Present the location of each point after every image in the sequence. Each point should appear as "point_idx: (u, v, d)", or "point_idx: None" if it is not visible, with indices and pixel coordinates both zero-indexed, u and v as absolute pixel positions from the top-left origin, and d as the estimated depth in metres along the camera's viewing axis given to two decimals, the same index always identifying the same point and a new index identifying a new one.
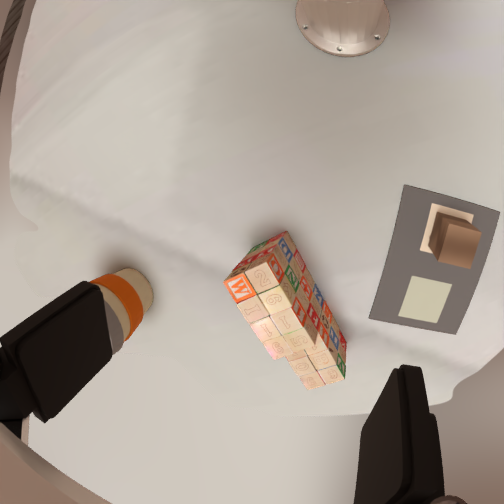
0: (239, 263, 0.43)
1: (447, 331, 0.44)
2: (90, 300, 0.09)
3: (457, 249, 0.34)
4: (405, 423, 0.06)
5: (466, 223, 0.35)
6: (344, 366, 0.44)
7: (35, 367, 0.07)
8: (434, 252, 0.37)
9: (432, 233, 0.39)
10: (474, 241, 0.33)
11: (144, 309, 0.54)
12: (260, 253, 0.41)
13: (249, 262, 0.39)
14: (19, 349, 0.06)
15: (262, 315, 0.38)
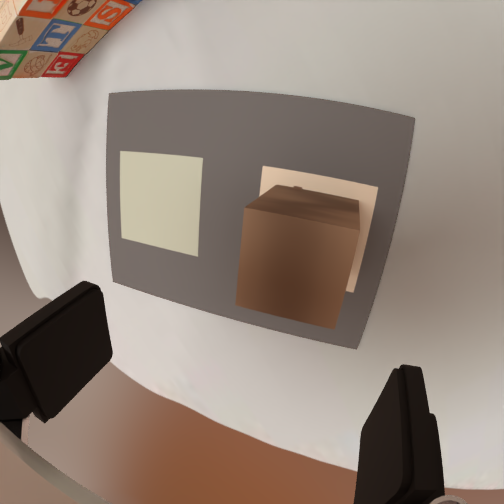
0: None
1: (113, 263, 0.26)
2: (90, 300, 0.09)
3: (284, 262, 0.14)
4: (405, 423, 0.06)
5: None
6: (7, 75, 0.15)
7: (35, 367, 0.07)
8: (265, 197, 0.16)
9: (307, 192, 0.18)
10: (310, 311, 0.15)
11: None
12: None
13: None
14: (19, 349, 0.06)
15: None
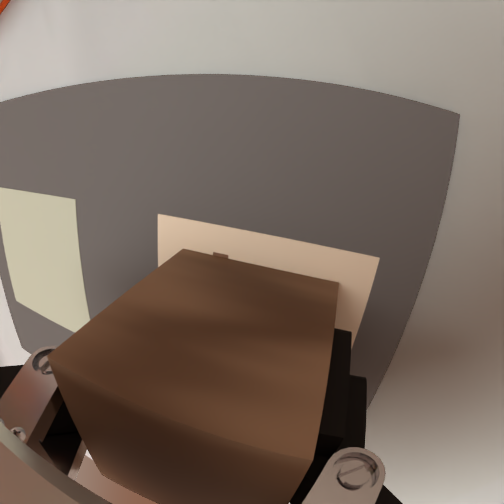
0: None
1: (17, 328, 0.17)
2: None
3: (148, 462, 0.05)
4: None
5: None
6: None
7: None
8: (123, 305, 0.07)
9: (234, 269, 0.09)
10: None
11: None
12: None
13: None
14: None
15: None
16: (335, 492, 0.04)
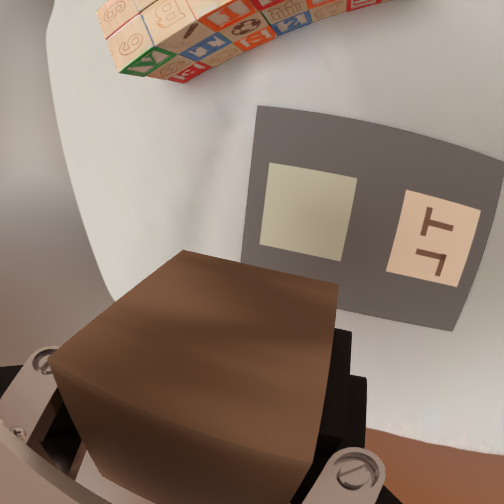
0: None
1: None
2: None
3: (148, 464, 0.05)
4: None
5: None
6: (144, 73, 0.18)
7: None
8: (123, 307, 0.07)
9: (234, 271, 0.09)
10: None
11: None
12: None
13: None
14: None
15: None
16: (335, 492, 0.04)
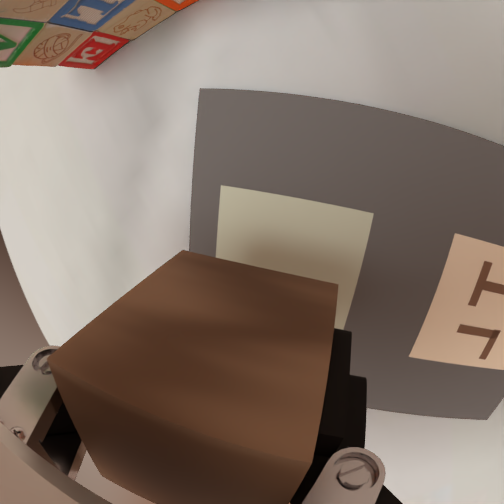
0: None
1: None
2: None
3: (148, 464, 0.05)
4: None
5: None
6: (5, 61, 0.08)
7: None
8: (123, 307, 0.07)
9: (234, 271, 0.09)
10: None
11: None
12: None
13: None
14: None
15: None
16: (335, 492, 0.04)
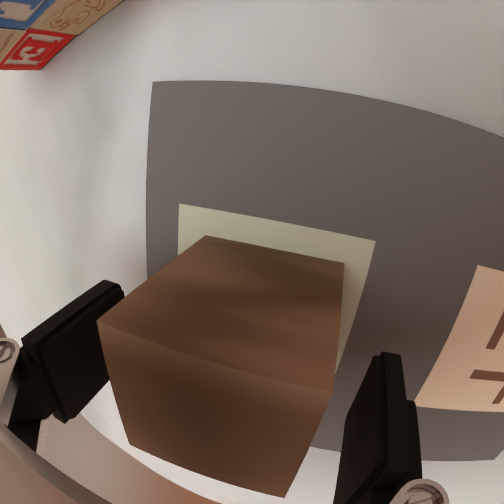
0: None
1: None
2: (112, 299, 0.09)
3: (183, 417, 0.07)
4: (381, 406, 0.06)
5: None
6: None
7: (58, 367, 0.07)
8: (160, 279, 0.08)
9: (253, 251, 0.11)
10: (241, 477, 0.07)
11: None
12: None
13: None
14: (43, 349, 0.06)
15: None
16: None
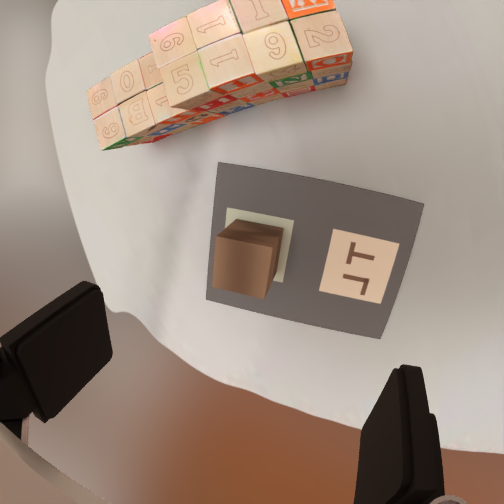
0: None
1: (209, 286, 0.37)
2: (90, 300, 0.09)
3: (236, 263, 0.28)
4: (405, 423, 0.06)
5: (273, 273, 0.31)
6: (120, 146, 0.27)
7: (35, 367, 0.07)
8: (228, 229, 0.30)
9: (253, 223, 0.32)
10: (250, 289, 0.29)
11: None
12: None
13: None
14: (19, 349, 0.06)
15: (244, 21, 0.16)
16: None
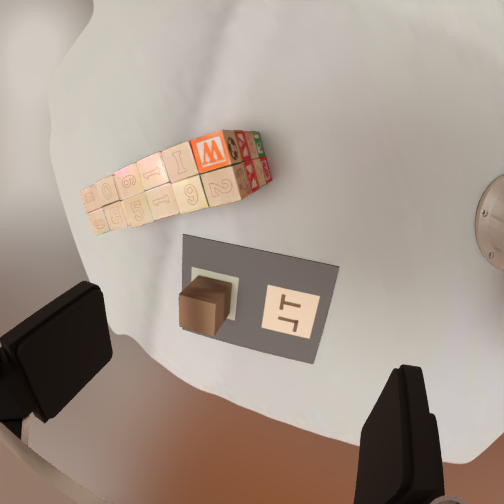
0: (243, 133, 0.30)
1: None
2: (90, 300, 0.09)
3: (193, 312, 0.40)
4: (405, 423, 0.06)
5: (223, 316, 0.43)
6: None
7: (35, 367, 0.07)
8: (189, 286, 0.41)
9: (210, 279, 0.44)
10: (204, 329, 0.40)
11: None
12: (251, 164, 0.31)
13: (242, 159, 0.28)
14: (19, 349, 0.06)
15: (171, 174, 0.27)
16: None
